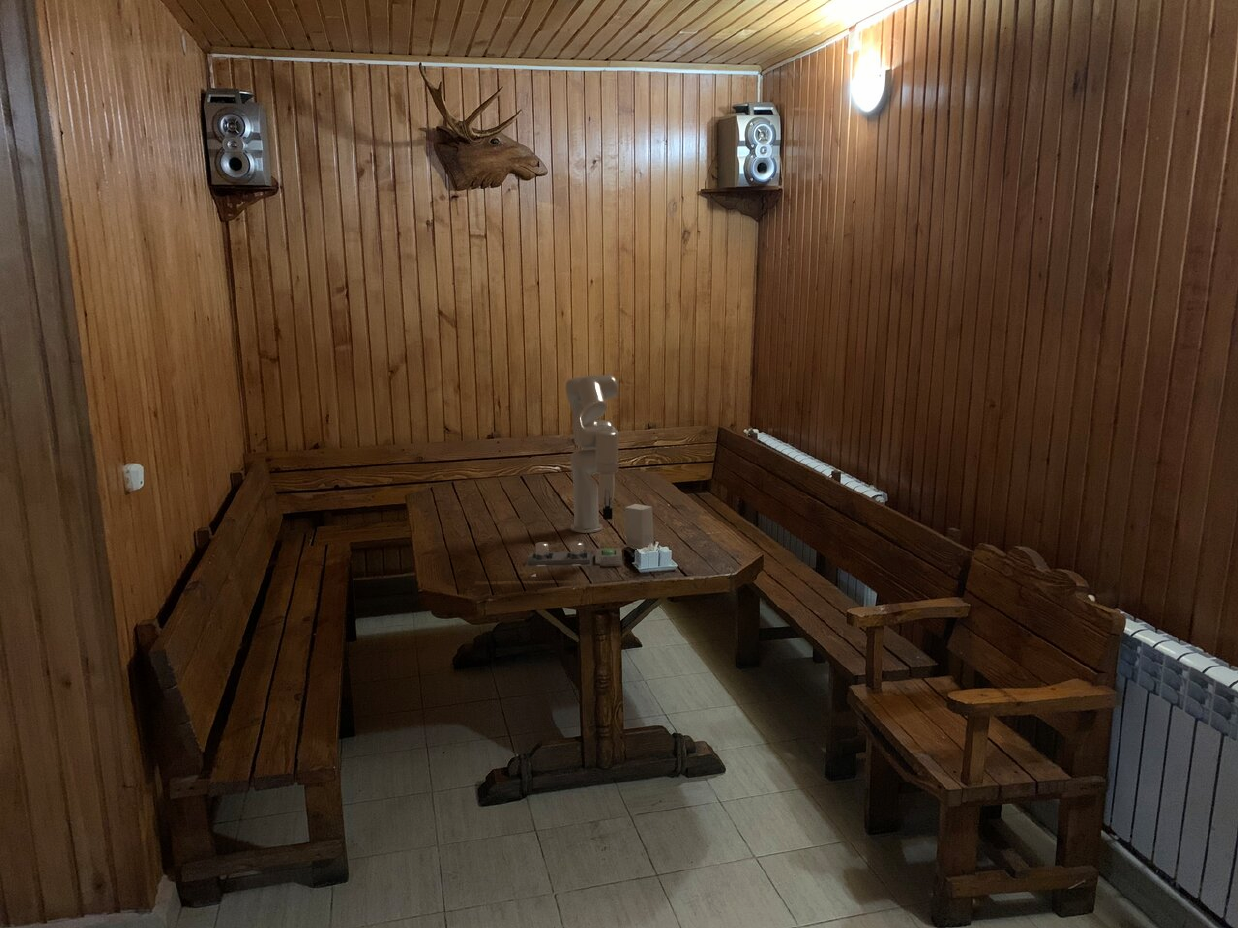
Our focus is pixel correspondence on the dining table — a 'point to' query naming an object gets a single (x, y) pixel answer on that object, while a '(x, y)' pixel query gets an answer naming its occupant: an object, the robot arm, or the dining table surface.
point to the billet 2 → (577, 550)
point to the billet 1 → (542, 550)
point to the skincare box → (638, 525)
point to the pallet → (559, 560)
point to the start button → (608, 552)
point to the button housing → (609, 558)
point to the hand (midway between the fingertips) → (607, 518)
